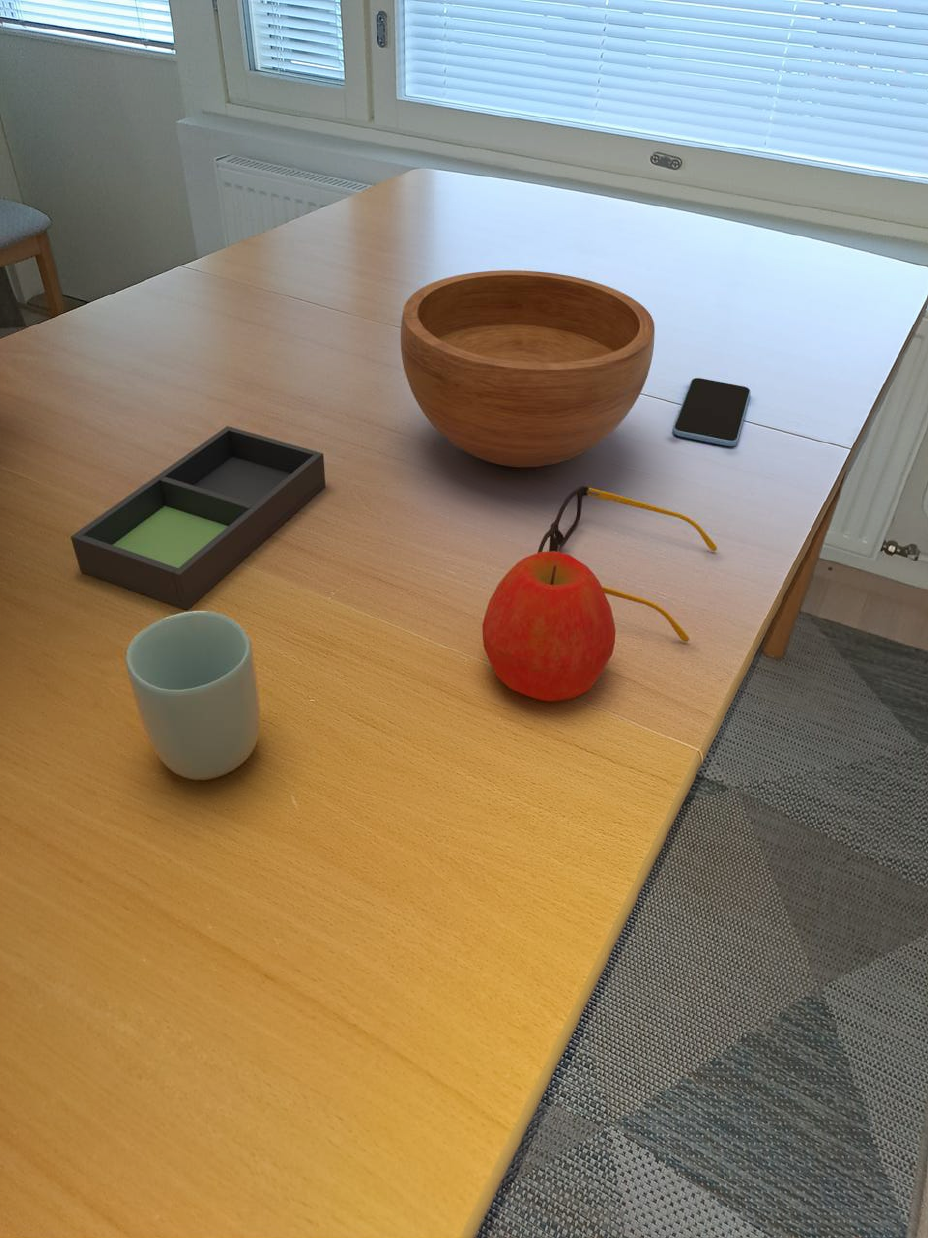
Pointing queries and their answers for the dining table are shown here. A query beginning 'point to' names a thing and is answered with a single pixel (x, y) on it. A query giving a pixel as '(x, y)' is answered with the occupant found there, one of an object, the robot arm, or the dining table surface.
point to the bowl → (525, 362)
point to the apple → (549, 627)
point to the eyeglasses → (586, 491)
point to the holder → (200, 516)
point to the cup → (196, 692)
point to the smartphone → (712, 412)
